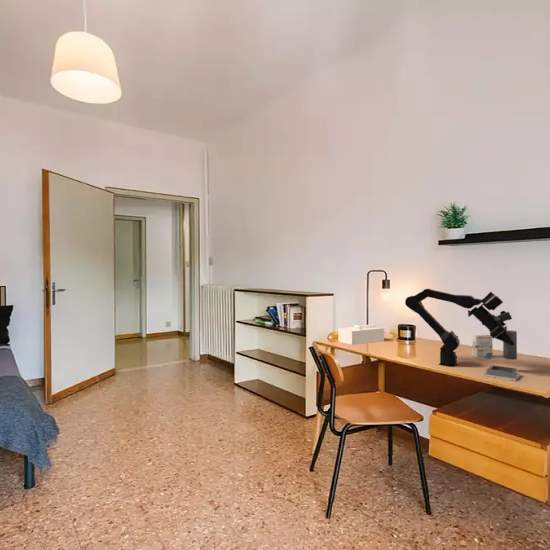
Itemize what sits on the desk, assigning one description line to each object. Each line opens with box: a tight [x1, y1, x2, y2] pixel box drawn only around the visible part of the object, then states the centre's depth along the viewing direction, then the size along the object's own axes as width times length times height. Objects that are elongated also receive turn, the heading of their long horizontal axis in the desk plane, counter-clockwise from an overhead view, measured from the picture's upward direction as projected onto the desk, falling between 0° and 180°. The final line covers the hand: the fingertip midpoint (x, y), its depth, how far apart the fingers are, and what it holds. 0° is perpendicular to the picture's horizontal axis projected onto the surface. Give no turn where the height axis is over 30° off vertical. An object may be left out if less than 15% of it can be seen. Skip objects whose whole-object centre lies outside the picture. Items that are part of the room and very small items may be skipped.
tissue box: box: [337, 323, 385, 346], centre depth 252 cm, size 14×25×11 cm, turn 115°
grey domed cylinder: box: [502, 329, 518, 360], centre depth 175 cm, size 5×5×12 cm
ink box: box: [471, 333, 493, 359], centre depth 204 cm, size 9×5×12 cm, turn 92°
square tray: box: [482, 364, 522, 382], centre depth 168 cm, size 12×11×3 cm
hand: (513, 343), depth 174 cm, fingers closed on grey domed cylinder, 5 cm apart
